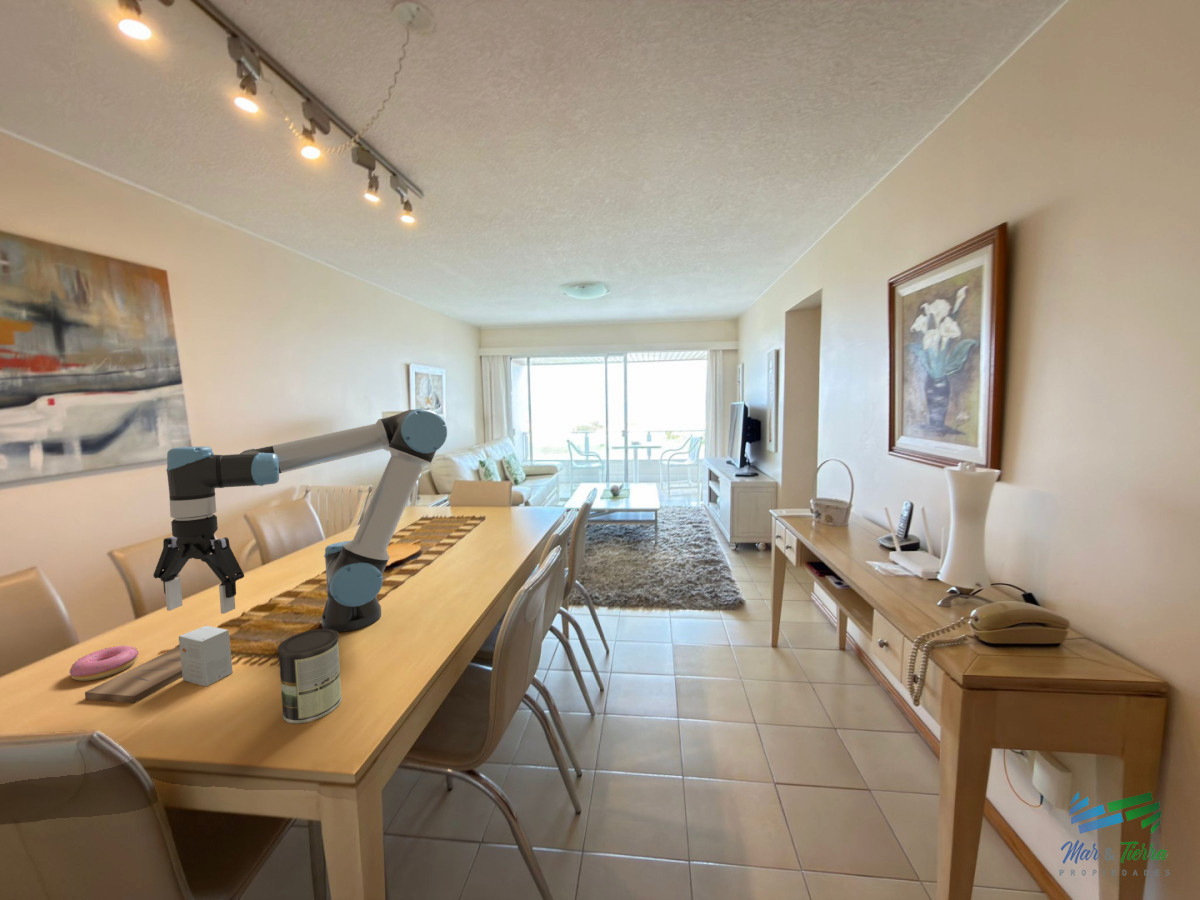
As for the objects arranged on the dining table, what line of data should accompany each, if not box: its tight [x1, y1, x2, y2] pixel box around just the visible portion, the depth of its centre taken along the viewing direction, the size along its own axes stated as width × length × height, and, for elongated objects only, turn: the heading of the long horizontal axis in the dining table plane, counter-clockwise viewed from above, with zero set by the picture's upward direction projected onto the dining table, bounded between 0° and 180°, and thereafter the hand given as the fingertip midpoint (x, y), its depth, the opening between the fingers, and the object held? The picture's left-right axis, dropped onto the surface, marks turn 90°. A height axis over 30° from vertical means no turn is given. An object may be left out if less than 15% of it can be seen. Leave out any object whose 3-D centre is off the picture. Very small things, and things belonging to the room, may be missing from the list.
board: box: [84, 645, 183, 704], centre depth 104 cm, size 12×20×2 cm, turn 173°
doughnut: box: [69, 645, 139, 682], centre depth 106 cm, size 11×11×4 cm
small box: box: [178, 625, 233, 687], centre depth 102 cm, size 8×6×10 cm
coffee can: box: [277, 628, 343, 725], centre depth 91 cm, size 10×10×14 cm
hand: (201, 609), depth 101 cm, fingers open, 13 cm apart
